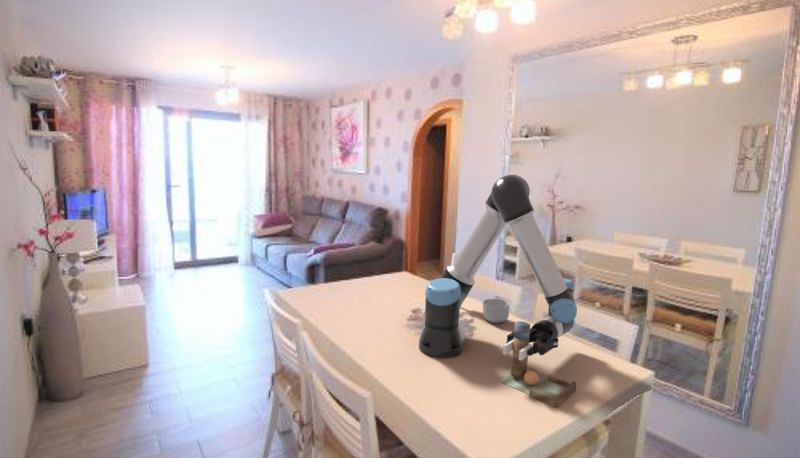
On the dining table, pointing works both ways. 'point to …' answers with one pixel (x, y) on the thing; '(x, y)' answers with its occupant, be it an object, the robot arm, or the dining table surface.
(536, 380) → the ball
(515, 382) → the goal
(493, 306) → the teacup
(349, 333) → the dining table surface
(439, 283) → the robot arm
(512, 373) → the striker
